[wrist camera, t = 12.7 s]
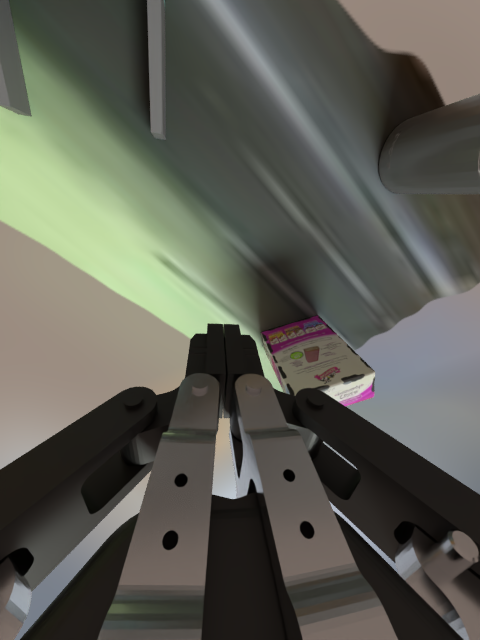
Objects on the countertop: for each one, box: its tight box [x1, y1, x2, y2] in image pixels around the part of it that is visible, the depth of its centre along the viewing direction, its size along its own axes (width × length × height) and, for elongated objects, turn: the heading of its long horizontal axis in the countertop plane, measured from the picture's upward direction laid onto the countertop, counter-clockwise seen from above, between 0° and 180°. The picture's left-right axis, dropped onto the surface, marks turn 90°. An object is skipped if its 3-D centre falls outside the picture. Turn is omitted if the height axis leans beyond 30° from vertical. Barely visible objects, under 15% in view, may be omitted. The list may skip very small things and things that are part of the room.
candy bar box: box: [261, 315, 375, 406], centre depth 39 cm, size 11×5×16 cm, turn 104°
